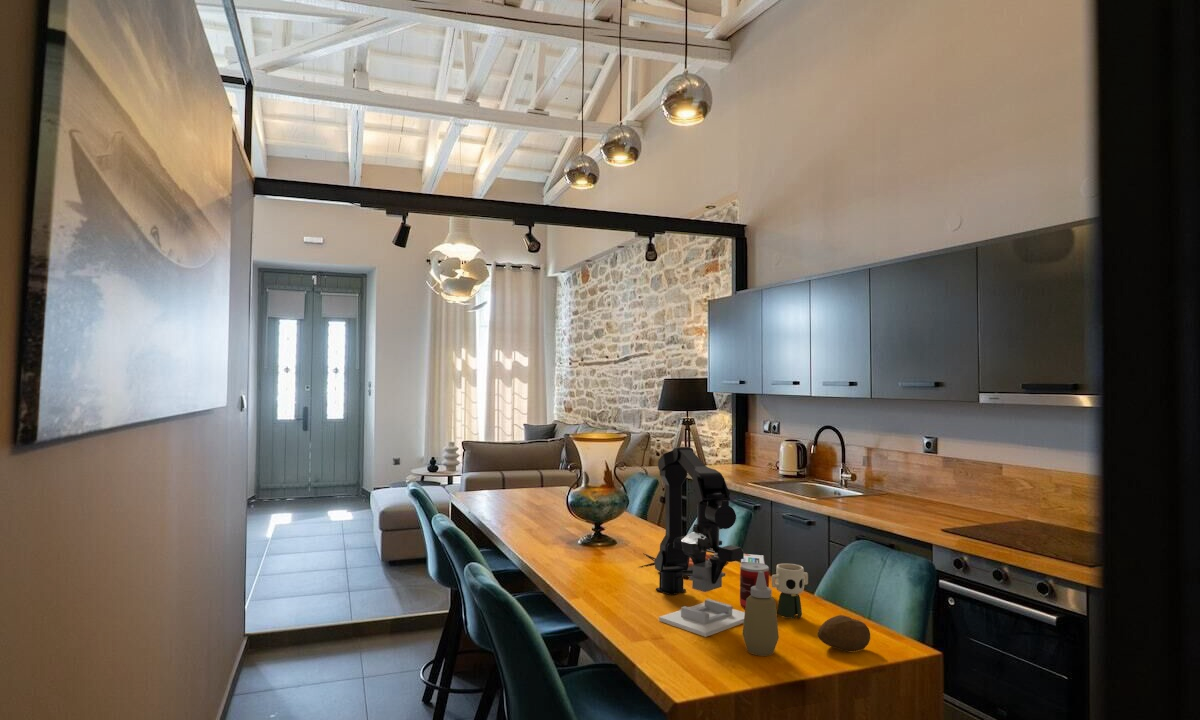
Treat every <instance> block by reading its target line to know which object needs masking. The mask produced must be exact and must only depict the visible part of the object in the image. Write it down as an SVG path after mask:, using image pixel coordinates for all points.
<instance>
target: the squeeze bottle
mask: <svg viewBox="0 0 1200 720" xmlns="http://www.w3.org/2000/svg"><path fill="white" fill-rule="evenodd" d="M744 612H745V616H744V623H742V625H743V626H742V637H743V641H744V644H745V647H746V650H747V652H748V653H750V654H751V655H753V656H759V657H760V656H761V657H767V656H768V657H769V656H771V655H773V654H774V653H775V650H776V646H777V644H778V641H779V638H780V636H779V628H778V627H779V625H778V624H779V623H778V615H777V614H778V613H777V602H776V600H775V598H774V597H772V588H771V587H770V586H769V587H767V585H766V580H765V575H764V572H759V573H758V577H757V581H756V586H752V587H751V595H750V596H749V597H748V598H746V607H745V608H744Z"/></svg>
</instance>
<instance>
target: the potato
mask: <svg viewBox="0 0 1200 720" xmlns="http://www.w3.org/2000/svg"><path fill="white" fill-rule="evenodd" d="M816 634H817V638H818V639H819V640H820V641H821V642H822V643H823V644H825V645H827V646H829V647H830V648H834V649H838V650H841V651H844V652H848V651H855V652H858V651H860V650H863V649H865V648H866V647H867V646H868V645H869V643H870V640H871V632H870V628H869V627H868V626H867V625H866V623H865V622H863V621H861V620H859V619H854V618H852V617H849V616H847V615H842V614H840V615H836V616H833V617H829V618H828V619H826V620H825V621H824V622H823V624H821V625H820V626H819V629H818V631H817V633H816Z"/></svg>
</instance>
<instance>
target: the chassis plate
mask: <svg viewBox="0 0 1200 720" xmlns="http://www.w3.org/2000/svg"><path fill="white" fill-rule="evenodd" d="M744 616H745V611H741V610H738V609H734V608H733V605H731V604H727V603H725V602H721V601H717V600H713V599H710V598H706V599H704V602H701V603H697V604H695V605H692V606H686V605H684V606H681V608H680V609H679V610H677V611H674V612H673V611H672V612H670V613H666V614H664V615H660V616H658V621H659V622H661V623H665V624H667V625H669V626H673V627H675V628H679V629H682V630H684V631H688V632H689V633H693V634H697V635H699V636H702V637H705V638H706V637H709V636H712V635H714V634H717V633H720V632H723V631H726V630H728V629H730V628H735V626H739V625H741V624H742V625H743V624H744Z"/></svg>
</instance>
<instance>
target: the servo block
mask: <svg viewBox="0 0 1200 720" xmlns="http://www.w3.org/2000/svg"><path fill="white" fill-rule="evenodd" d="M724 577H726V572H723V570H722V571H721V573H720V576H719V578H718V580H717V582H716V583H715V584H712V563H711V562H710V560H709V559H708V561H706V562H702V563H698V564H694V565H693V576H689V577H688V580H689V581H691V582H692V584H691V585H692V589H694V590H696V591H699V592H703V593H706V592H709V591H713V590H716V589H720V588H722V587H723V586H722V584H723V583H722V582H723V578H724Z"/></svg>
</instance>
